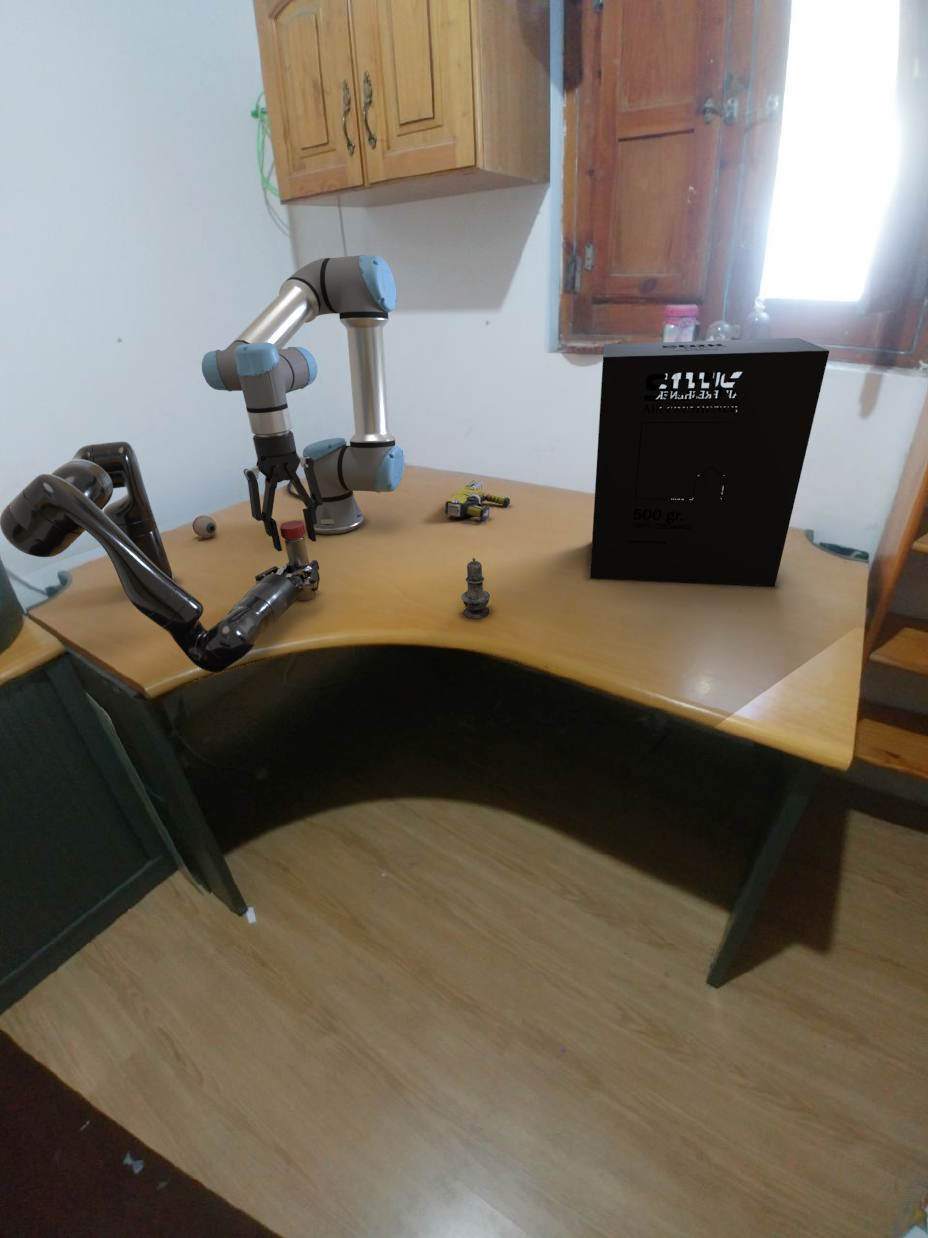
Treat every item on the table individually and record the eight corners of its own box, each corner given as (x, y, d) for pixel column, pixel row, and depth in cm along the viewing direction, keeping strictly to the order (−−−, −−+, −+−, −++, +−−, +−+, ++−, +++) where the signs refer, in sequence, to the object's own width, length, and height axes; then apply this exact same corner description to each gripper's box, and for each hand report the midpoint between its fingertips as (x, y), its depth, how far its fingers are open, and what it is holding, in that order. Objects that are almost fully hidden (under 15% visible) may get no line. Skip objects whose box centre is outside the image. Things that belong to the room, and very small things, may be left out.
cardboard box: (755, 547, 142) (798, 337, 120) (774, 586, 125) (829, 350, 102) (592, 542, 150) (603, 344, 127) (589, 578, 133) (603, 356, 110)
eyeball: (206, 542, 163) (200, 521, 160) (191, 538, 166) (185, 518, 163) (224, 534, 167) (218, 514, 164) (209, 531, 170) (203, 510, 167)
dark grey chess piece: (488, 619, 119) (486, 564, 113) (459, 618, 120) (455, 563, 114) (493, 605, 124) (491, 551, 118) (465, 604, 125) (462, 550, 119)
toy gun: (518, 485, 181) (471, 478, 185) (495, 509, 161) (443, 500, 165) (516, 500, 184) (470, 493, 188) (494, 525, 164) (442, 517, 168)
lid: (278, 540, 123) (276, 529, 122) (285, 531, 127) (283, 521, 126) (302, 539, 123) (300, 528, 122) (307, 530, 127) (305, 519, 126)
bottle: (302, 602, 130) (287, 533, 122) (293, 596, 133) (278, 528, 125) (319, 596, 132) (305, 528, 124) (310, 590, 135) (296, 523, 127)
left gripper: (298, 585, 114) (333, 548, 128) (230, 581, 116) (272, 546, 131) (305, 619, 117) (339, 580, 132) (239, 615, 120) (279, 577, 135)
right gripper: (313, 420, 122) (331, 527, 134) (214, 438, 113) (243, 551, 124) (328, 426, 117) (346, 537, 128) (226, 445, 107) (255, 563, 119)
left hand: (305, 563), depth 131 cm, fingers closed on bottle, 4 cm apart
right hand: (295, 544), depth 126 cm, fingers open, 7 cm apart
